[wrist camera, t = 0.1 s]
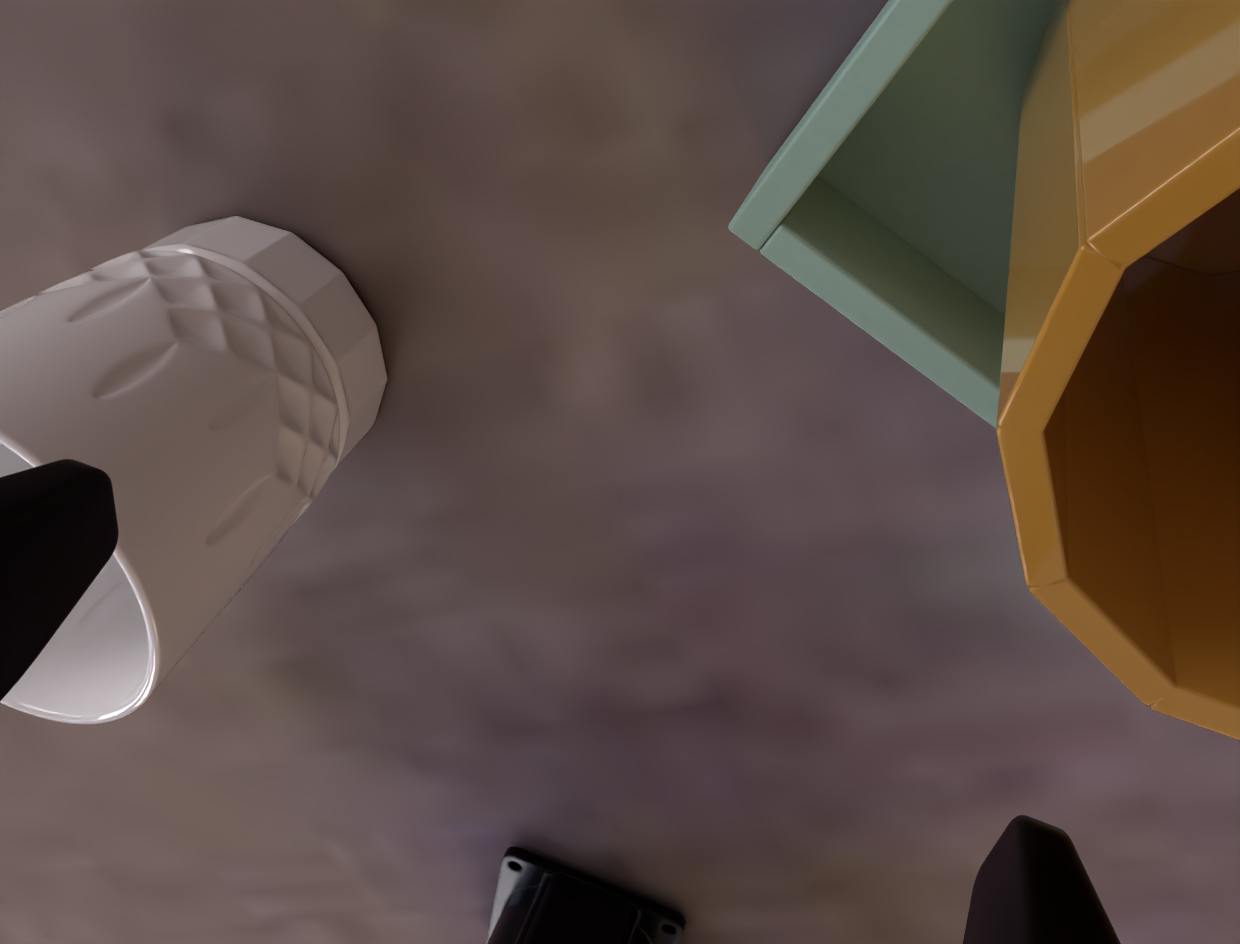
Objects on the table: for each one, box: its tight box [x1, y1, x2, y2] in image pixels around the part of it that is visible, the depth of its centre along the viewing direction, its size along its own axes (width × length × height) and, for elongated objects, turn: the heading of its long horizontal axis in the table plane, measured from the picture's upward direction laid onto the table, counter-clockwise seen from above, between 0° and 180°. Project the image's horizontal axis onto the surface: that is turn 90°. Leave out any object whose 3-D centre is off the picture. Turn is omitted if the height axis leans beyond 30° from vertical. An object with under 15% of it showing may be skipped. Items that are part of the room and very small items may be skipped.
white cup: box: [0, 216, 387, 724], centre depth 24 cm, size 8×8×10 cm
